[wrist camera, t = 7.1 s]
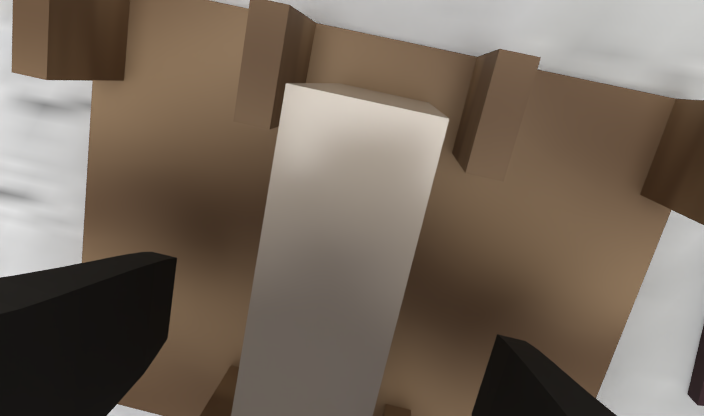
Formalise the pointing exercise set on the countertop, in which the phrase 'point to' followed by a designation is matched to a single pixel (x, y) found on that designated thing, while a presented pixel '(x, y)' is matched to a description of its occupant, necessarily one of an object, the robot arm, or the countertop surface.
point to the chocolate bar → (698, 375)
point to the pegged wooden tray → (442, 208)
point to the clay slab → (335, 248)
